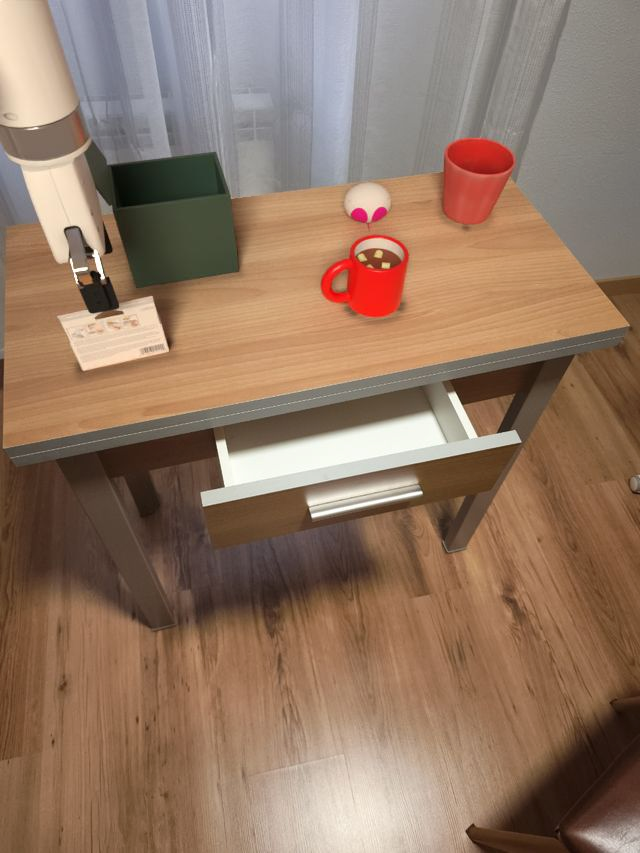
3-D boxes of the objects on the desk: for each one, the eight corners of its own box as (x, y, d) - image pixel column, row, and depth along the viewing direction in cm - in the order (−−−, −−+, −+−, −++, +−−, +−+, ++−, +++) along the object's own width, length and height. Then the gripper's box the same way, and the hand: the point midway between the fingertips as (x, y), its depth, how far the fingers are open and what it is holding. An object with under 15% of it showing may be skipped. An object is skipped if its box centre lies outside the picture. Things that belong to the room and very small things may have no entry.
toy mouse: (344, 243, 94) (347, 228, 87) (340, 195, 94) (343, 177, 87) (389, 240, 94) (396, 225, 88) (386, 192, 94) (392, 174, 88)
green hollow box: (136, 288, 81) (112, 210, 71) (129, 242, 88) (106, 164, 77) (239, 271, 84) (230, 194, 74) (225, 228, 90) (216, 151, 80)
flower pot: (457, 238, 90) (472, 181, 82) (421, 201, 96) (432, 144, 88) (511, 222, 93) (530, 165, 85) (473, 187, 99) (488, 131, 91)
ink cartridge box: (80, 359, 73) (53, 301, 65) (166, 340, 76) (150, 282, 68) (82, 373, 72) (55, 316, 64) (170, 353, 74) (154, 296, 66)
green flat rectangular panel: (112, 205, 71) (109, 206, 71) (106, 159, 77) (104, 160, 77) (73, 153, 65) (70, 155, 65) (70, 108, 71) (67, 110, 71)
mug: (311, 292, 82) (312, 246, 75) (387, 275, 84) (394, 229, 78) (330, 329, 78) (333, 283, 71) (409, 309, 80) (419, 264, 74)
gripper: (1, 88, 54) (65, 239, 68) (-7, 189, 45) (70, 341, 59) (82, 78, 55) (129, 229, 69) (91, 175, 46) (143, 327, 60)
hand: (102, 280), depth 64 cm, fingers open, 9 cm apart
